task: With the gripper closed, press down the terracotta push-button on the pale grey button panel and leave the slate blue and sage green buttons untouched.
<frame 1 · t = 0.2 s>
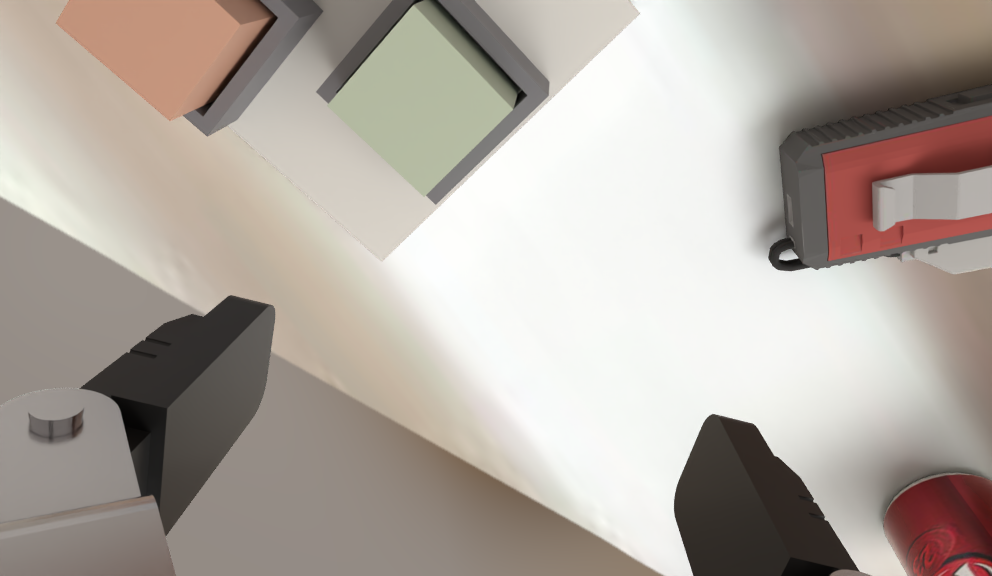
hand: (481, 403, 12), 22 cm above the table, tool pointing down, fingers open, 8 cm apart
sage green button: (428, 96, 26), point 6 cm above the table, slide at 0.0 cm
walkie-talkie: (971, 169, 32), on the table
terracotta button: (175, 18, 25), point 5 cm above the table, slide at 0.0 cm
soda can: (939, 507, 41), on the table
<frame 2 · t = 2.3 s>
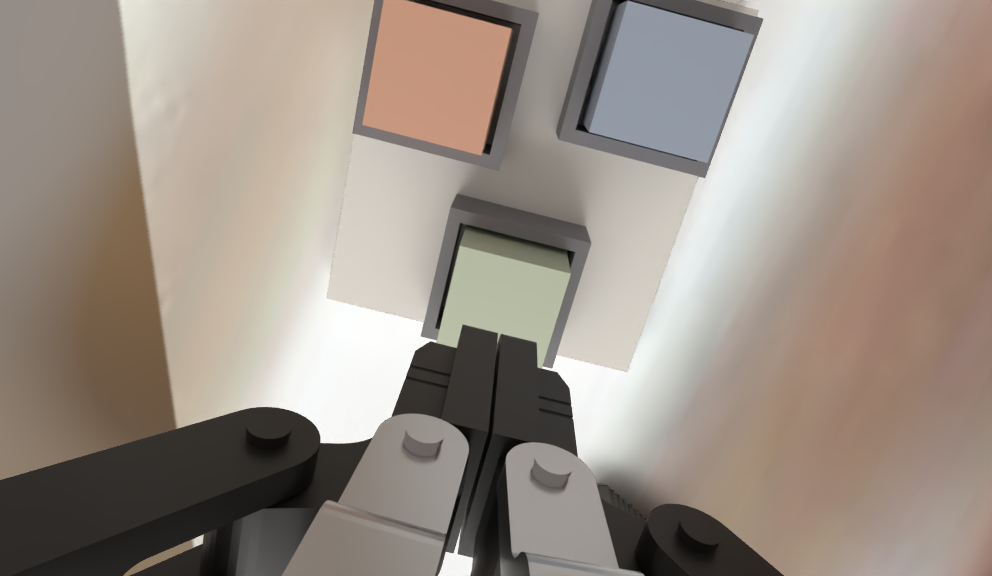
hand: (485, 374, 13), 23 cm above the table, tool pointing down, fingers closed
sage green button: (502, 295, 31), point 5 cm above the table, slide at 0.0 cm
button panel: (523, 160, 34), on the table
terracotta button: (440, 75, 28), point 5 cm above the table, slide at 0.0 cm
slate blue button: (659, 82, 27), point 5 cm above the table, slide at 0.0 cm
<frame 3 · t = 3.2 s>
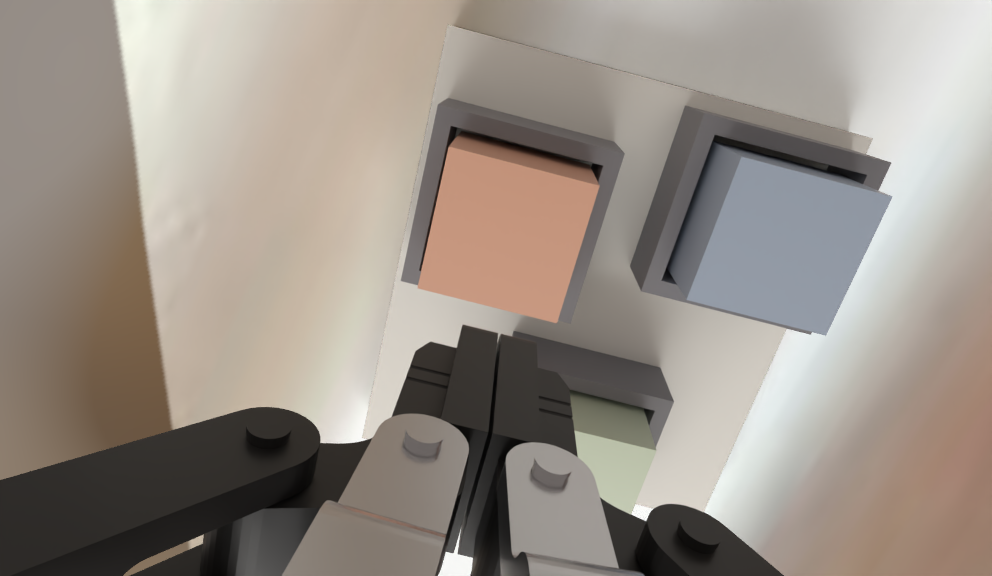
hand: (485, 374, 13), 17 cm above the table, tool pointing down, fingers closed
sage green button: (570, 457, 27), point 5 cm above the table, slide at 0.0 cm
button panel: (586, 288, 30), on the table
terracotta button: (507, 223, 24), point 5 cm above the table, slide at 0.0 cm
slate blue button: (765, 233, 23), point 5 cm above the table, slide at 0.0 cm
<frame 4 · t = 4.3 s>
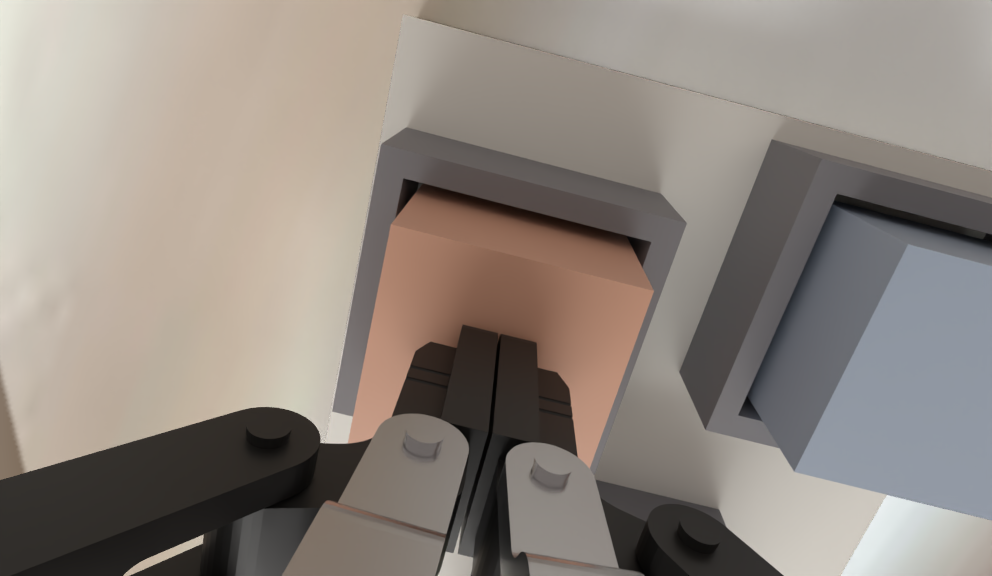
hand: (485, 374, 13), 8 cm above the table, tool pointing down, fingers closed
button panel: (611, 390, 21), on the table
terracotta button: (496, 332, 15), point 5 cm above the table, slide at 0.0 cm, touching gripper
slate blue button: (913, 351, 14), point 6 cm above the table, slide at 0.0 cm
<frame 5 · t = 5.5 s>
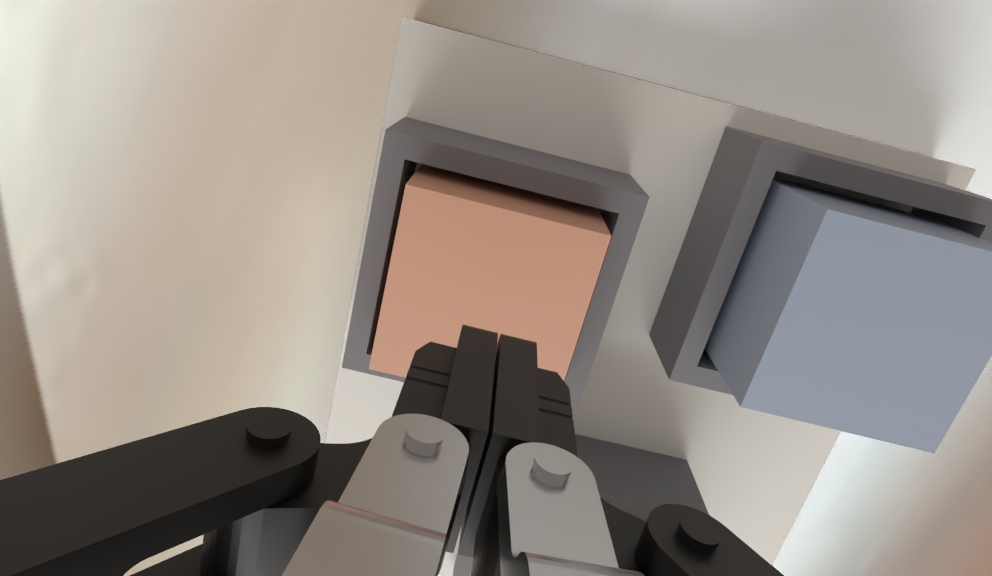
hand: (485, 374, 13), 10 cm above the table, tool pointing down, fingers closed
button panel: (590, 355, 24), on the table
terracotta button: (487, 278, 18), point 4 cm above the table, slide at 1.2 cm
slate blue button: (843, 306, 17), point 5 cm above the table, slide at 0.0 cm
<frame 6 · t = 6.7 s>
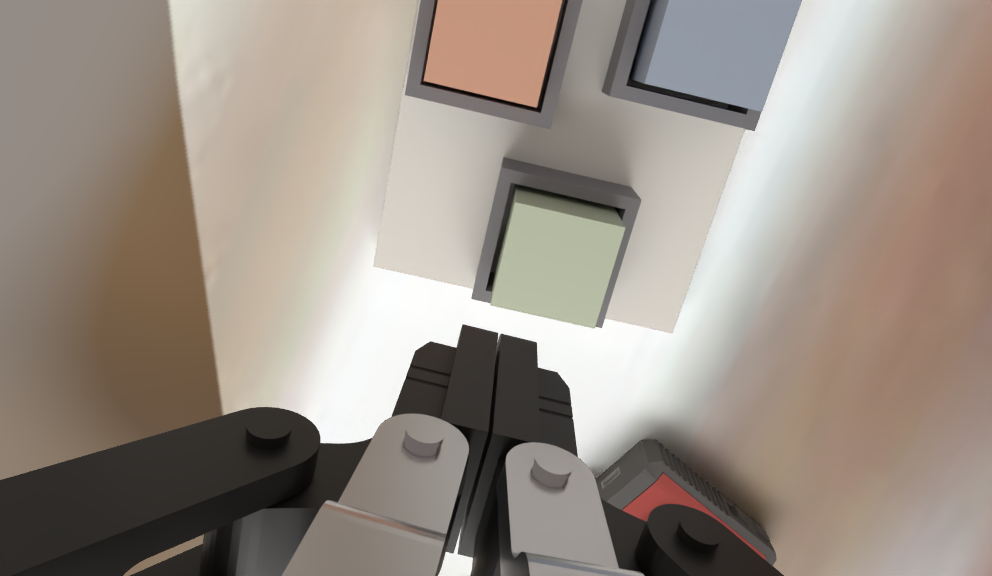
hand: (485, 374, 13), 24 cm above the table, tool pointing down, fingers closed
sage green button: (554, 254, 31), point 5 cm above the table, slide at 0.0 cm
button panel: (566, 124, 34), on the table
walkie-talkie: (693, 542, 45), on the table
terracotta button: (494, 34, 29), point 4 cm above the table, slide at 1.2 cm
slate blue button: (710, 34, 28), point 5 cm above the table, slide at 0.0 cm
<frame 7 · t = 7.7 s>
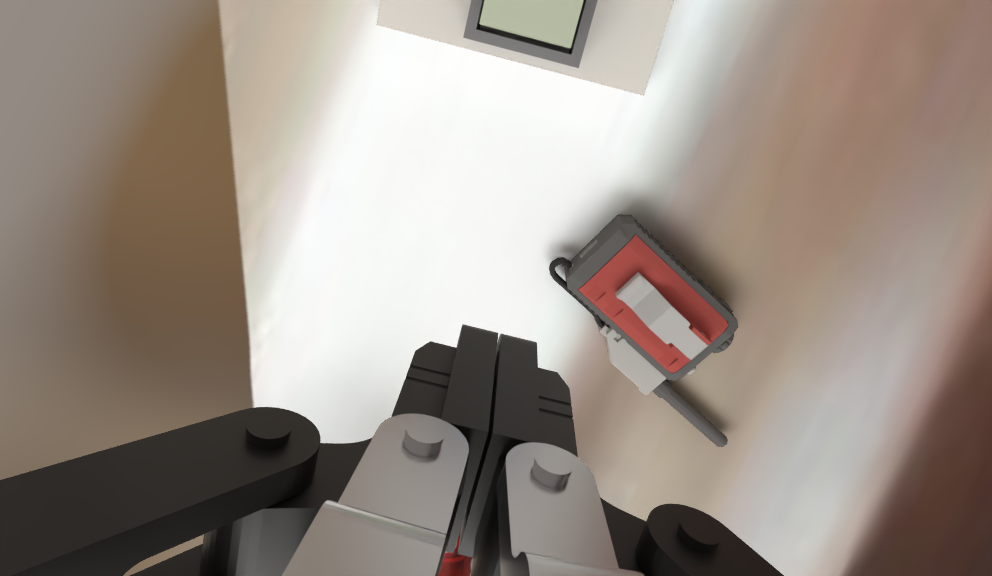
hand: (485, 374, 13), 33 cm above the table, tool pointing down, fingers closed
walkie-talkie: (664, 325, 49), on the table
soda can: (445, 508, 55), on the table
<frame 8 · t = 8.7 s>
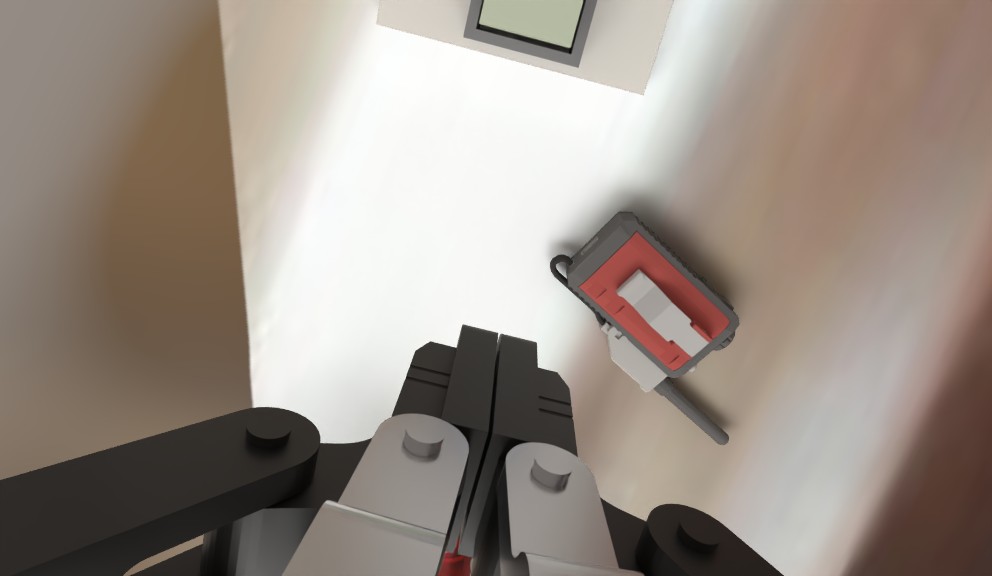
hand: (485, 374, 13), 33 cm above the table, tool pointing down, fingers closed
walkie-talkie: (665, 323, 48), on the table
soda can: (445, 508, 55), on the table
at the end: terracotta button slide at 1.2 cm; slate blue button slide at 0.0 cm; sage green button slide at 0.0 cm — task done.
